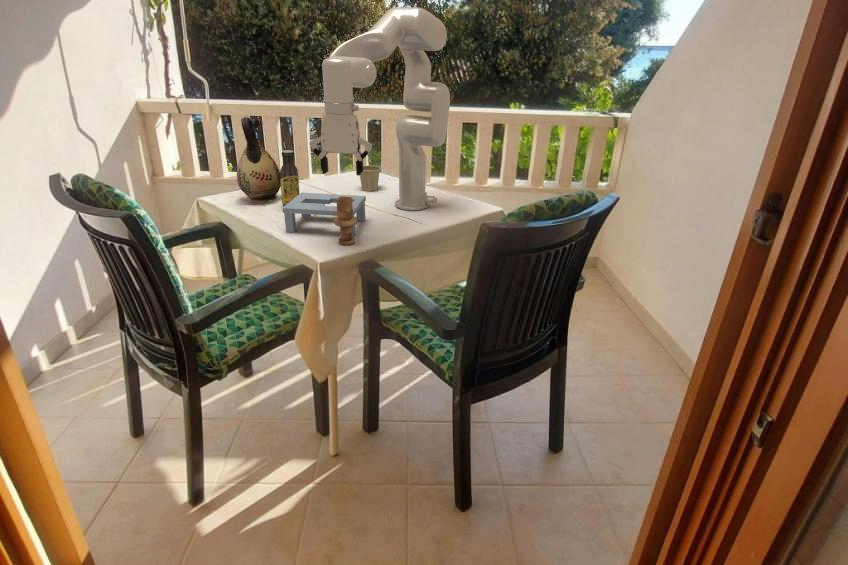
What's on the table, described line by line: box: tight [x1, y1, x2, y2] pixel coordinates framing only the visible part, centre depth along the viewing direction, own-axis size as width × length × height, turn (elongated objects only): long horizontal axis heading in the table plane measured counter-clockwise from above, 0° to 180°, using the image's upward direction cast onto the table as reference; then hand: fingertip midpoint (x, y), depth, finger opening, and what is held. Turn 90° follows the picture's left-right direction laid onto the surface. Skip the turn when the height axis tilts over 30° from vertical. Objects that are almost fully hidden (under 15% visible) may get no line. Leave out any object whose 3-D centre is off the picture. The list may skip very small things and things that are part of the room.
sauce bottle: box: [279, 149, 301, 208], centre depth 172 cm, size 6×6×20 cm
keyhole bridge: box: [281, 192, 367, 238], centre depth 158 cm, size 17×22×8 cm
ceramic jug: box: [236, 116, 281, 204], centre depth 176 cm, size 17×15×30 cm
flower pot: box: [359, 165, 382, 192], centre depth 197 cm, size 9×9×9 cm
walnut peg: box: [334, 197, 358, 246], centre depth 144 cm, size 6×6×14 cm
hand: (342, 173), depth 138 cm, fingers open, 9 cm apart
